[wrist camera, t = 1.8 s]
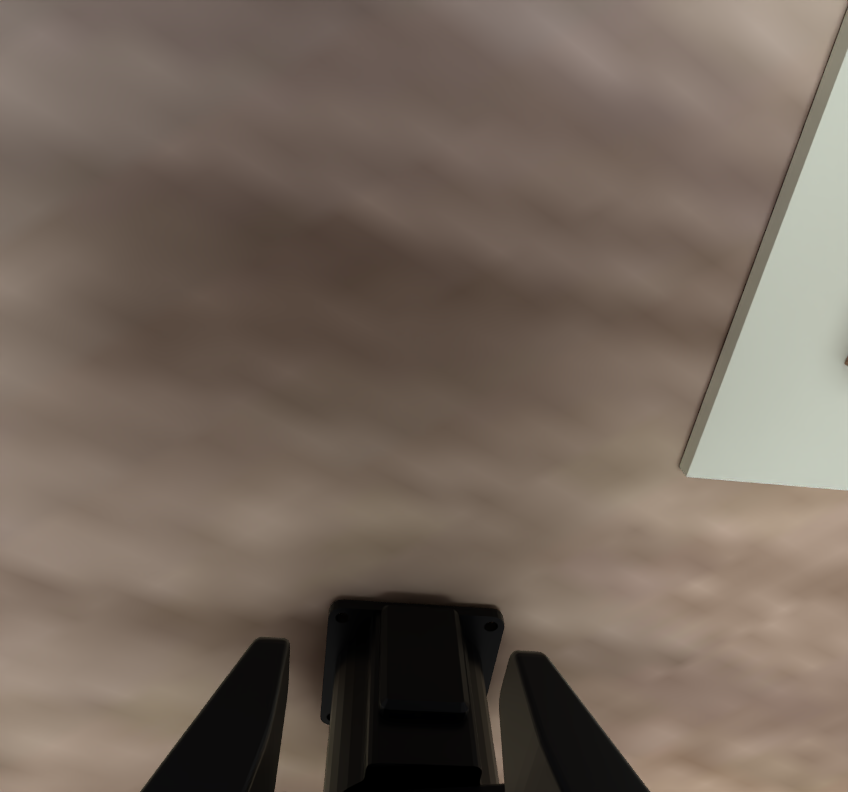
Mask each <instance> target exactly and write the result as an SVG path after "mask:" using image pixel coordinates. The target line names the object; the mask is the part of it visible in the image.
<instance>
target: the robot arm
mask: <svg viewBox="0 0 848 792" xmlns="http://www.w3.org/2000/svg"><path fill="white" fill-rule="evenodd" d="M339 613H346V614H345V615H341V614H339ZM488 622H493V623H488ZM503 630H504V620H503V615H502V614H501V612H499V611H498V610H496V609H489V608H472V607H456V606H440V605H423V604H407V603H391V602H374V601H358V600H338V601H335V602H334V603H332V604H331V606H330V609H329V617H328V629H327V642H326V654H325V666H324V679H323V691H322V704H321V716H320V717H321V720H322V721H323V722H324V723H325V724H327V725H330V726H329V737H328V747H327V758H326V769H325V779H324V790H323V792H650V791H649V790H648V788H647V787H646V786H645V784H644V783H643V782H642V780H641V779H640V778H639V776H638V775H637V774H636V773H635V771H634V770H633V769H632V767H631V766H630V765H629V763H628V762H627V761H626V759H625V758H624V757H623V755H622V754H621V753H620V752H619V750H618V749H617V748H616V746H615V745H614V744H613V742H612V741H611V740H610V738H609V737H608V736H607V735H606V733H605V732H604V731H603V729H602V728H601V727H600V725H599V724H598V723H597V721H596V720H595V719H594V717H593V716H592V715H591V714H590V712H589V711H588V710H587V708H586V707H585V706H584V704H583V703H582V702H581V700H580V699H579V698H578V696H577V695H576V694H575V693H574V691H573V690H572V689H571V687H570V686H569V685H568V683H567V682H566V681H565V679H564V678H563V677H562V676H561V674H560V673H559V672H558V670H557V669H556V668H555V666H554V665H553V664H552V662H551V661H550V660H549V658H548V657H547V656H546V655H545V654H543V653H541V652H535V651H514V652H513V653H512V654H511V656H510V658H509V661H508V665H507V669H506V673H505V676H504V680H503V684H502V688H501V692H500V698H499V715H500V728H501V742H502V756H503V769H504V783H505V784H499V778H498V771H497V764H496V758H495V751H494V744H493V737H492V730H491V724H490V717H489V710H488V703H487V693H488V689H489V685H490V681H491V677H492V673H493V670H494V666H495V662H496V658H497V654H498V650H499V646H500V642H501V638H502V634H503ZM289 658H290V643H289V641H288V640H287V639H285V638H275V637H259V638H257V639H255V640H254V641H253V643H252V644H251V645H250V646H249V648H248V649H247V650H246V652H245V653H244V654H243V656H242V657H241V658H240V660H239V661H238V662H237V664H236V665H235V666H234V668H233V669H232V670H231V672H230V673H229V674H228V676H227V677H226V678H225V680H224V681H223V682H222V684H221V685H220V686H219V688H218V689H217V690H216V692H215V693H214V694H213V696H212V697H211V698H210V700H209V701H208V702H207V704H206V705H205V706H204V708H203V709H202V710H201V712H200V713H199V714H198V716H197V717H196V718H195V720H194V721H193V722H192V723H191V725H190V726H189V727H188V729H187V730H186V731H185V733H184V734H183V735H182V737H181V738H180V739H179V741H178V742H177V743H176V745H175V746H174V747H173V749H172V750H171V751H170V753H169V754H168V755H167V757H166V758H165V759H164V761H163V762H162V763H161V765H160V766H159V767H158V769H157V770H156V771H155V773H154V774H153V775H152V777H151V778H150V779H149V781H148V782H147V783H146V785H145V786H144V787H143V789H142V790H141V791H140V792H274V789H275V782H276V775H277V767H278V760H279V753H280V746H281V738H282V731H283V724H284V717H285V709H286V702H287V694H288V681H289Z"/></svg>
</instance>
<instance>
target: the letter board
mask: <svg viewBox="0 0 848 792" xmlns="http://www.w3.org/2000/svg"><path fill="white" fill-rule="evenodd" d="M847 357H848V9H847V12H846V14H845V17H844V20H843V22H842V25H841V28H840V31H839V33H838V36H837V39H836V42H835V44H834V47H833V50H832V52H831V55H830V58H829V61H828V63H827V66H826V69H825V71H824V74H823V77H822V80H821V82H820V85H819V88H818V90H817V93H816V96H815V99H814V101H813V104H812V107H811V110H810V112H809V115H808V118H807V120H806V123H805V126H804V129H803V131H802V134H801V137H800V139H799V142H798V145H797V148H796V150H795V153H794V156H793V158H792V161H791V164H790V167H789V169H788V172H787V175H786V178H785V180H784V183H783V186H782V188H781V191H780V194H779V197H778V199H777V202H776V205H775V207H774V210H773V213H772V216H771V218H770V221H769V224H768V226H767V229H766V232H765V235H764V237H763V240H762V243H761V246H760V248H759V251H758V254H757V256H756V259H755V262H754V265H753V267H752V270H751V273H750V275H749V278H748V281H747V284H746V286H745V289H744V292H743V294H742V297H741V300H740V303H739V305H738V308H737V311H736V314H735V316H734V319H733V322H732V324H731V327H730V330H729V333H728V335H727V338H726V341H725V343H724V346H723V349H722V352H721V354H720V357H719V360H718V362H717V365H716V368H715V371H714V373H713V376H712V379H711V382H710V384H709V387H708V390H707V392H706V395H705V398H704V401H703V403H702V406H701V409H700V411H699V414H698V417H697V420H696V422H695V425H694V428H693V430H692V433H691V436H690V439H689V441H688V444H687V447H686V450H685V452H684V455H683V458H682V460H681V463H680V466H679V467H680V469H681V470H682V471H683V473H684V474H685V476H686V477H693V478H705V479H717V480H729V481H741V482H753V483H765V484H777V485H789V486H801V487H813V488H824V489H836V490H848V366H847V365H845V364H844V363H845V361H846V359H847Z"/></svg>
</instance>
